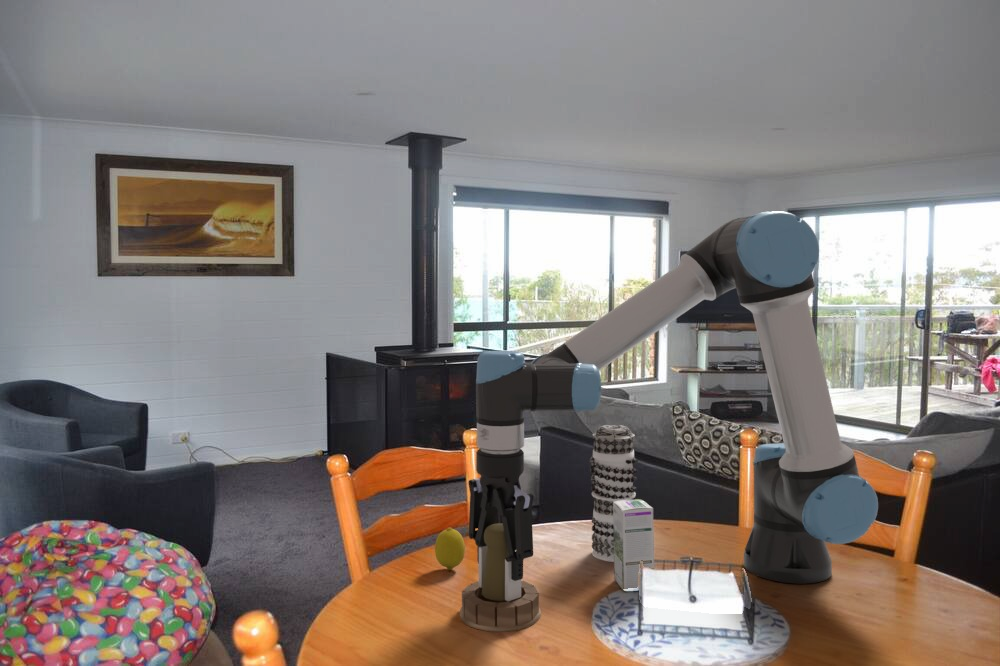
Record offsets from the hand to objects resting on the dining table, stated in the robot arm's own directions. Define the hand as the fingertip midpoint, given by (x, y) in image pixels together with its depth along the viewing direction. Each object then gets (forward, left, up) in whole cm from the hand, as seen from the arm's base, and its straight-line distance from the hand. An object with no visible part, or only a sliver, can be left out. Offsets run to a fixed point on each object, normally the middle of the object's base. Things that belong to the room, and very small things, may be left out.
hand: (499, 591), depth 124 cm
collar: (0, 0, -4) cm, 4 cm away
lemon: (+21, -5, -4) cm, 22 cm away
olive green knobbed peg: (0, 0, -1) cm, 1 cm away
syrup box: (-6, -25, -4) cm, 26 cm away
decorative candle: (+7, -34, -4) cm, 35 cm away
